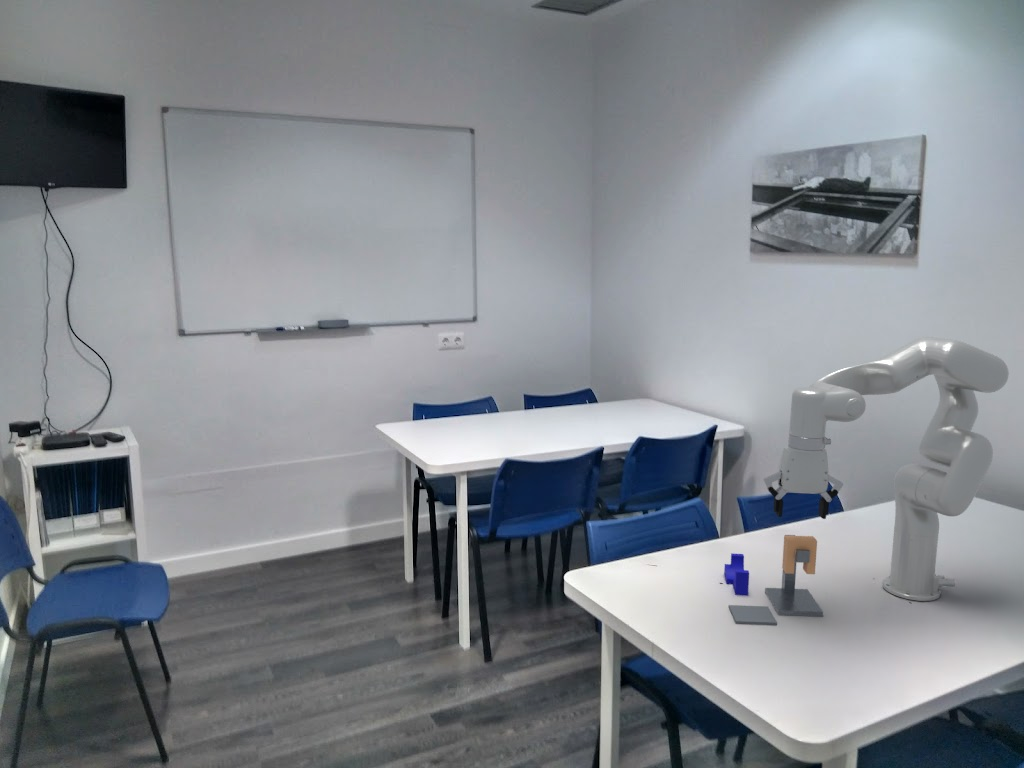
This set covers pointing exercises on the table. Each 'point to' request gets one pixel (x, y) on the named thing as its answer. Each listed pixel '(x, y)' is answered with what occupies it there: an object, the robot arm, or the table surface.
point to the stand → (794, 593)
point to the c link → (804, 544)
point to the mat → (752, 615)
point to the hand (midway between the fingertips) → (800, 516)
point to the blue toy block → (737, 574)
